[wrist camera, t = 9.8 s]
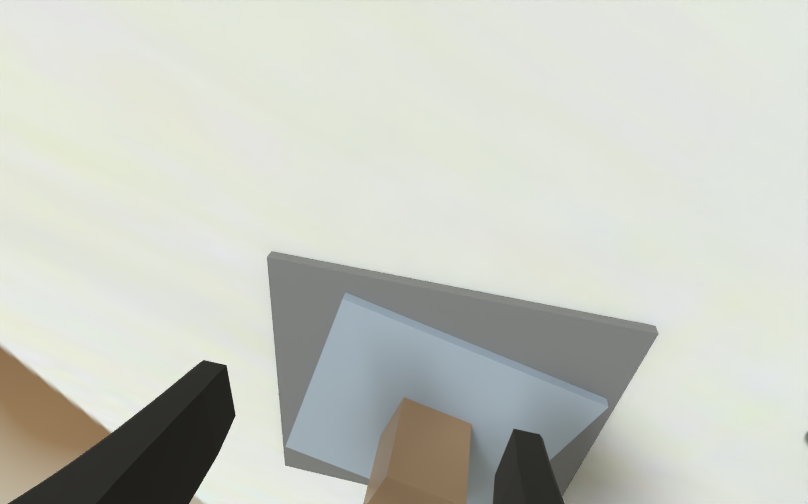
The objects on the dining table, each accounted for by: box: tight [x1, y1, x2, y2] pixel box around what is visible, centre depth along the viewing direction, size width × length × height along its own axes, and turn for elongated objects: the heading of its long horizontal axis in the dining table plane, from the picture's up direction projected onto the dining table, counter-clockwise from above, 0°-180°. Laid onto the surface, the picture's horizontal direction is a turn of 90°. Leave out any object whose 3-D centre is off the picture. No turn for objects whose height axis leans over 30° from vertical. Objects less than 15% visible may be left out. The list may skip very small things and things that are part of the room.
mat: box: [267, 251, 658, 496], centre depth 26 cm, size 18×18×1 cm
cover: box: [285, 293, 609, 504], centre depth 24 cm, size 14×14×5 cm
